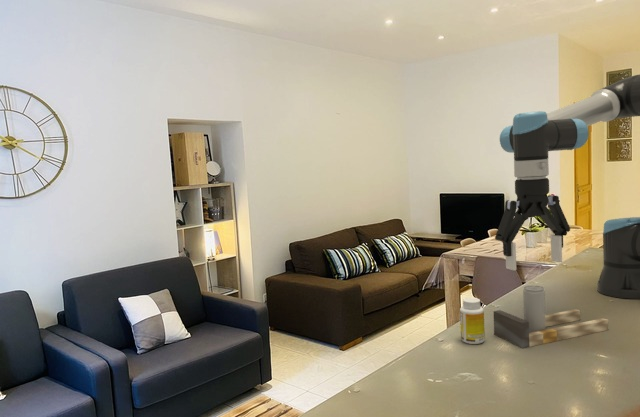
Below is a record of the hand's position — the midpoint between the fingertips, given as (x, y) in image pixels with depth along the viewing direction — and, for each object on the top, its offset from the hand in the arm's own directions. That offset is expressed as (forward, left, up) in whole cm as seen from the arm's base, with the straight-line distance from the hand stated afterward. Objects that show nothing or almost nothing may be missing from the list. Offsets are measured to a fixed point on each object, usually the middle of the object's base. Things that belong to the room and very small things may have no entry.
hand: (534, 265), depth 118 cm
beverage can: (0, 0, -18) cm, 18 cm away
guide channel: (-6, 0, -18) cm, 18 cm away
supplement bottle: (+15, -4, -18) cm, 24 cm away
